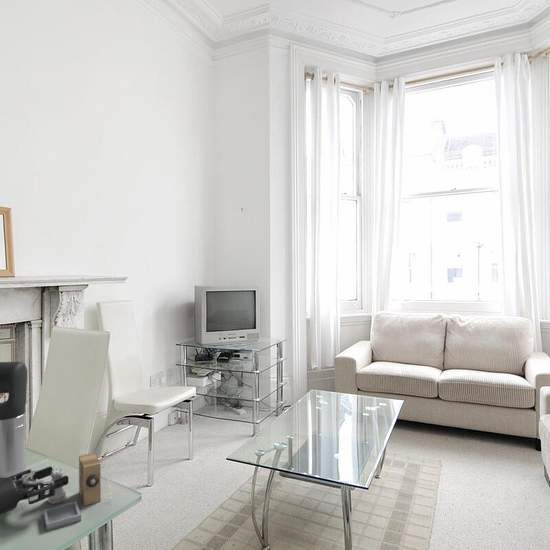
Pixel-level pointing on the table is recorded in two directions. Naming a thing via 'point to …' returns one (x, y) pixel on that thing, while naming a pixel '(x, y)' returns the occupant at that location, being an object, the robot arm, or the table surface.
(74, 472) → the table surface
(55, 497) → the rook chess piece
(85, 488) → the block
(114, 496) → the table surface
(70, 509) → the tray
